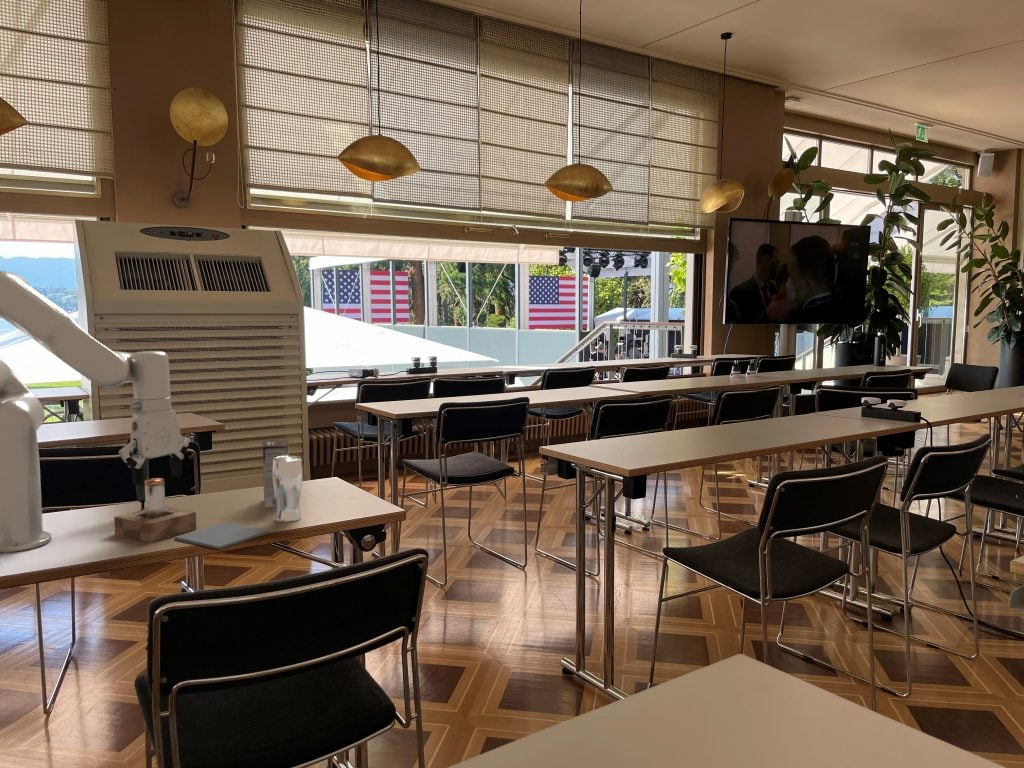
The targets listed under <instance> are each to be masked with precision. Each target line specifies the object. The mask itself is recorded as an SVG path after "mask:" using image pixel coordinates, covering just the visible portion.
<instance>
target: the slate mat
mask: <svg viewBox="0 0 1024 768" xmlns="http://www.w3.org/2000/svg"><path fill="white" fill-rule="evenodd" d="M267 534H270V529H264V528H263V529H262V528H259V527H253V526H249V525H243V524H238V523H232V522H228V521H225V522H222V523H218V524H214V525H211V526H207V527H204V528H201V529H198V530H193V531H189V532H187V533H183V534H179V535H178V536H177V535H175V536H174V540H176V541H180V542H185V543H189V544H193V545H199V546H202V547H207V548H212V549H216V550H222V549H225V548H228V547H231V546H234V545H237V544H240V543H243V542H247V541H249V540H252V539H255V538H258V537H261V536H264V535H267Z"/></svg>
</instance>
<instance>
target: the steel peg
mask: <svg viewBox="0 0 1024 768" xmlns="http://www.w3.org/2000/svg"><path fill="white" fill-rule="evenodd" d="M165 489H166V488H165V479H164V478H163V477H162V478H161V477H156V478H155V477H153V478H148V479H147V480H145V502H144V504H145V509H146V518H149V519H155V518H159V517H163V516H165V506H166V497H165V494H166V493H165V491H166V490H165Z"/></svg>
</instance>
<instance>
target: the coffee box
mask: <svg viewBox="0 0 1024 768" xmlns="http://www.w3.org/2000/svg"><path fill="white" fill-rule="evenodd" d="M289 454H290V453H289V442H288V440H287V439H285V440H278V439H276V440H275V439H273V440H263V441H262V472H263V473H262V476H263V499H264V500H263V501H264V502H263V503H264V505H263V506H264V508H267V509H268V508H277V502H276V496H275V491H274V486H273V459H274V458H276V457H281V456H290V455H289Z"/></svg>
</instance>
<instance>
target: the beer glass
mask: <svg viewBox="0 0 1024 768" xmlns="http://www.w3.org/2000/svg"><path fill="white" fill-rule="evenodd" d="M273 486H274V491H275V496H276V502H277V507H276V511H275V516H274V518H275V521H276V522H279V523H291V522H297V521H300V520H301V519H302V513H301V510H300V508H301V507H300V500H301V499H300V498H301V491H302V486H303V466H302V457H301V456H298V455H297V456H296V455H289V456H281V457H276V458H274V459H273ZM299 519H300V520H299Z"/></svg>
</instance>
